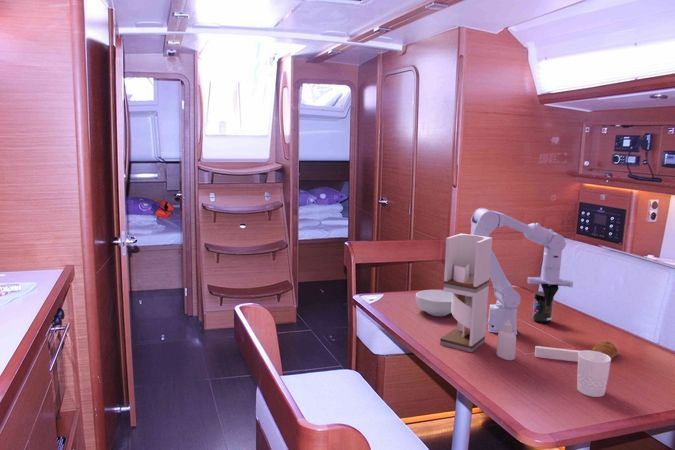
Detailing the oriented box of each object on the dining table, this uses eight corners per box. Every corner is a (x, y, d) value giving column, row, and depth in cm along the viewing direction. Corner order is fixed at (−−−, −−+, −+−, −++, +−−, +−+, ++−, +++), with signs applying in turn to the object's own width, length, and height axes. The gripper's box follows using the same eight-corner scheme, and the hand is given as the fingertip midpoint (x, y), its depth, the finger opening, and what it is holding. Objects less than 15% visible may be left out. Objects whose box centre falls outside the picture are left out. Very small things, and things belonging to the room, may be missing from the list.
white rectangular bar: (535, 356, 167) (536, 347, 167) (534, 355, 169) (535, 345, 168) (584, 362, 164) (585, 353, 164) (583, 360, 166) (584, 351, 165)
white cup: (569, 384, 149) (572, 350, 147) (596, 384, 149) (600, 350, 148) (584, 398, 141) (588, 362, 139) (613, 398, 142) (617, 362, 140)
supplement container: (538, 316, 206) (541, 290, 204) (555, 321, 201) (557, 294, 199) (528, 320, 202) (530, 293, 200) (544, 325, 197) (547, 297, 195)
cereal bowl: (466, 311, 210) (467, 294, 209) (450, 323, 196) (451, 304, 195) (425, 303, 219) (426, 286, 218) (407, 314, 205) (408, 296, 204)
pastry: (609, 363, 164) (610, 351, 164) (586, 357, 169) (587, 345, 168) (618, 355, 171) (620, 343, 170) (596, 349, 176) (597, 338, 175)
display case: (454, 334, 185) (460, 233, 179) (484, 341, 179) (492, 237, 173) (440, 344, 176) (446, 238, 170) (471, 352, 169) (479, 242, 164)
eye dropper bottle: (508, 353, 169) (511, 316, 167) (515, 361, 164) (519, 323, 162) (495, 353, 169) (498, 316, 167) (501, 361, 163) (504, 323, 162)
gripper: (530, 268, 185) (527, 306, 187) (576, 271, 181) (572, 310, 184) (528, 263, 192) (525, 300, 194) (572, 266, 188) (568, 304, 190)
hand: (547, 305), depth 189 cm, fingers closed
